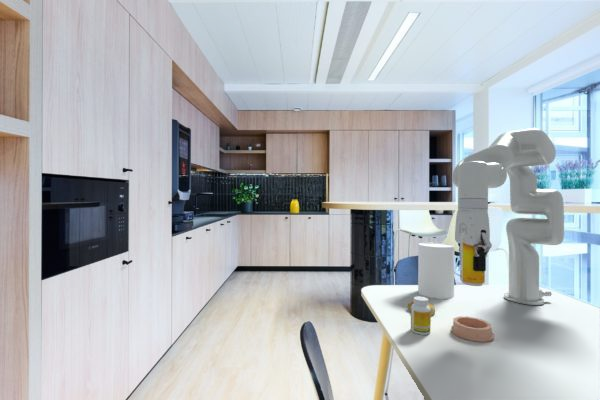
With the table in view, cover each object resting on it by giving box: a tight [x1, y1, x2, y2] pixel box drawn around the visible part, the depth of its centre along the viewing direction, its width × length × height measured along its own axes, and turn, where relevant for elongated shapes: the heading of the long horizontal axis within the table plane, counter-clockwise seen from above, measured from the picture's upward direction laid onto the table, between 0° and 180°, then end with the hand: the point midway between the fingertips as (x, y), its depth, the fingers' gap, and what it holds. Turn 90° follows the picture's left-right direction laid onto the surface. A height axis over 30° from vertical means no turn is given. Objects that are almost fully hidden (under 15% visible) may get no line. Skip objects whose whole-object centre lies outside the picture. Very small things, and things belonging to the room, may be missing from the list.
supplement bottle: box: [410, 295, 432, 336], centre depth 91 cm, size 5×5×10 cm
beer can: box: [459, 233, 486, 287], centre depth 90 cm, size 6×6×15 cm
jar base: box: [450, 316, 495, 343], centre depth 90 cm, size 11×11×3 cm
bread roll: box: [407, 299, 436, 316], centre depth 107 cm, size 8×9×4 cm
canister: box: [417, 242, 455, 300], centre depth 129 cm, size 14×14×20 cm
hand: (472, 267), depth 90 cm, fingers closed on beer can, 6 cm apart
